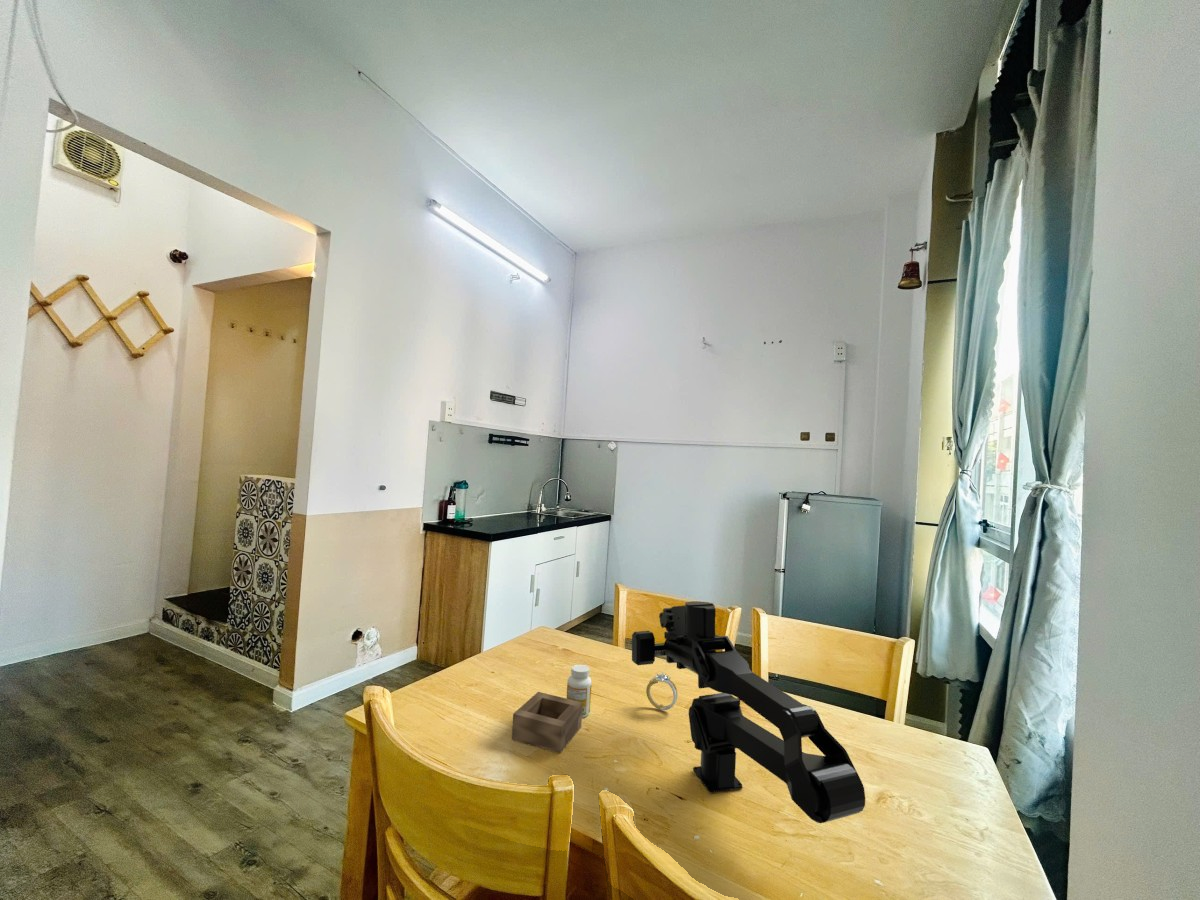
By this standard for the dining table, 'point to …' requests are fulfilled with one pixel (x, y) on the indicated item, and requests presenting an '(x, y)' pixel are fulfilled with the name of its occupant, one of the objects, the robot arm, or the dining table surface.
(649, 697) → the diamond engagement ring
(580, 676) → the supplement bottle
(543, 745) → the walnut well block
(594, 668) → the dining table surface
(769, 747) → the robot arm
